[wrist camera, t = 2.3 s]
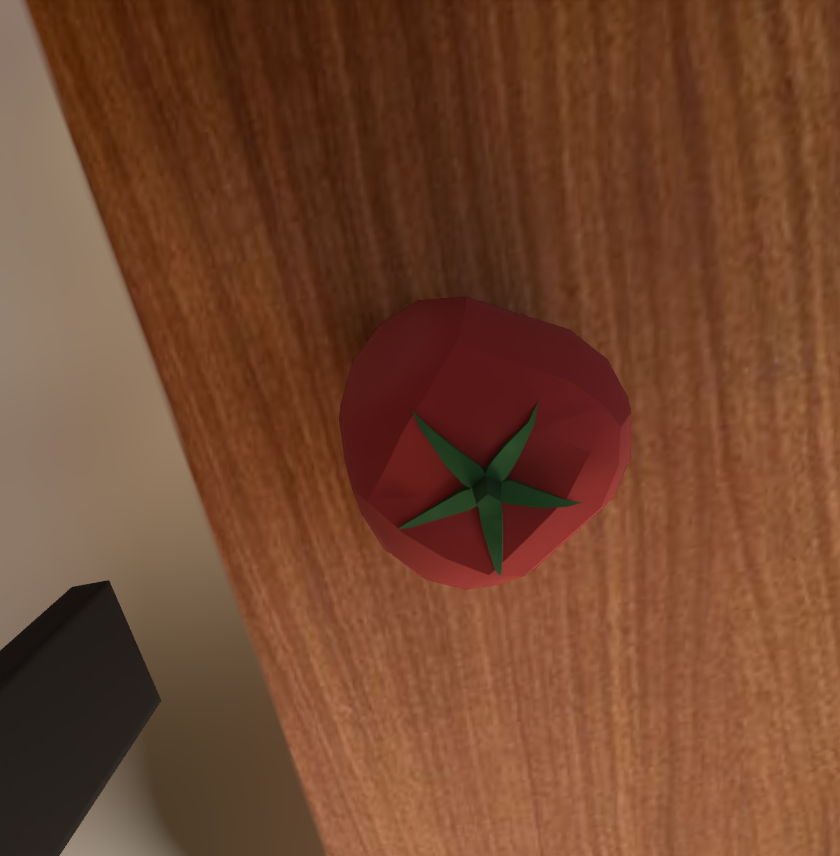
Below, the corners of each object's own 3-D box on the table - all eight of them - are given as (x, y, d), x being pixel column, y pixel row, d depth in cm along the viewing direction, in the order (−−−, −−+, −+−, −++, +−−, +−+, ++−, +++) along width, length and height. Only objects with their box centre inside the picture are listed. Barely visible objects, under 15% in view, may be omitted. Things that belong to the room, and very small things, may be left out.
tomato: (640, 360, 19) (737, 430, 12) (515, 553, 22) (538, 700, 15) (418, 242, 19) (391, 247, 12) (315, 454, 21) (244, 561, 14)
